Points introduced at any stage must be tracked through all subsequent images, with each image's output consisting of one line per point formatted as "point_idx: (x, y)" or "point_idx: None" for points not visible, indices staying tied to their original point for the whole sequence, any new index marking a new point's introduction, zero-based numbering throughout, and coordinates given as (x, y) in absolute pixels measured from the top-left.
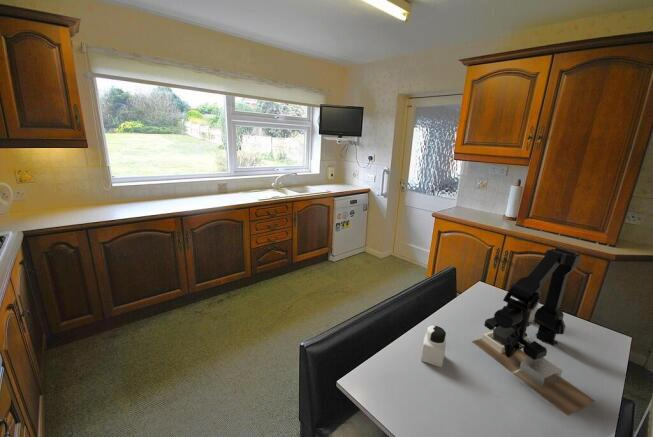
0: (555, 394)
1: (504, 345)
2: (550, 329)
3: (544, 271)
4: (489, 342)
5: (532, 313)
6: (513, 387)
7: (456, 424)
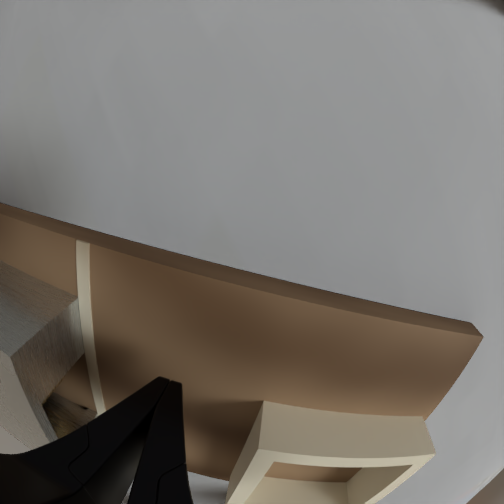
0: None
1: (181, 486)
2: None
3: None
4: (374, 430)
5: None
6: (52, 126)
7: None
